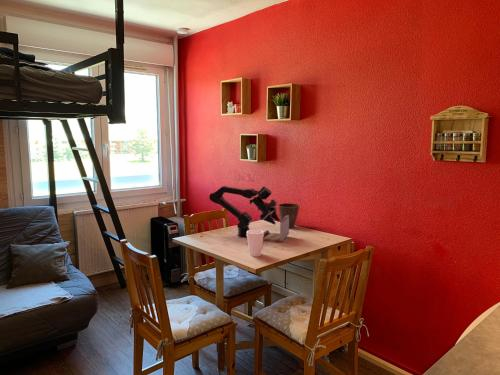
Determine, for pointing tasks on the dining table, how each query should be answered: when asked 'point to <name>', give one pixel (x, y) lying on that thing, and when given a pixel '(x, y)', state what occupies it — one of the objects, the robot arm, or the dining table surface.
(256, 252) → the foam cup
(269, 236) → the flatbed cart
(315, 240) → the dining table surface
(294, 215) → the plant pot
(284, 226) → the tailgate
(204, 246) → the dining table surface
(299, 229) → the dining table surface
